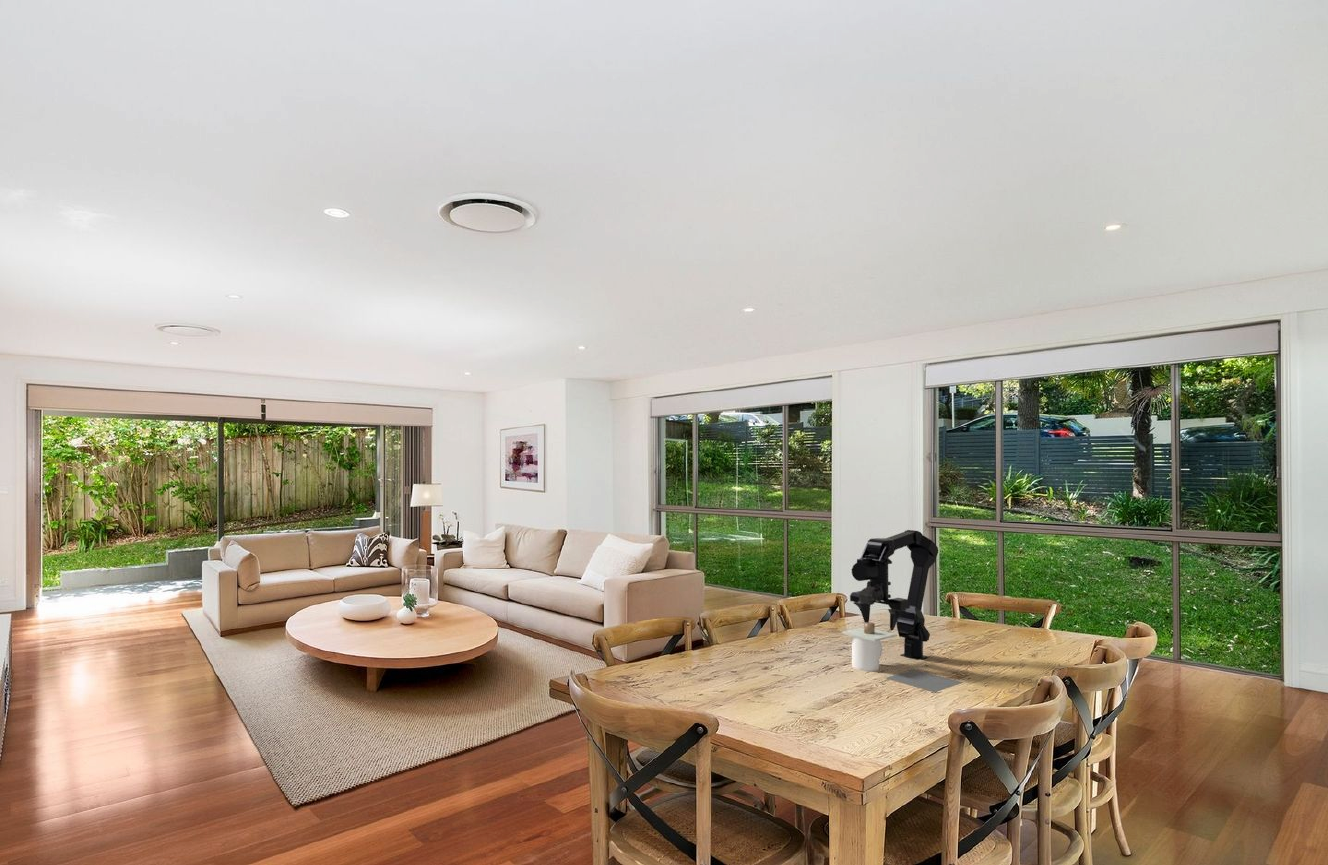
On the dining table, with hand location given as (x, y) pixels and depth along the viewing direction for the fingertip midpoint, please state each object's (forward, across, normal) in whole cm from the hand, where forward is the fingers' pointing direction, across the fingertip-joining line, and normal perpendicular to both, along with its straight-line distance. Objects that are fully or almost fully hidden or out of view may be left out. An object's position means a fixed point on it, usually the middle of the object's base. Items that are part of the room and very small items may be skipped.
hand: (879, 627), depth 220 cm
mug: (+12, 0, -5) cm, 13 cm away
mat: (+12, +18, -4) cm, 22 cm away
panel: (+2, 0, -5) cm, 6 cm away
